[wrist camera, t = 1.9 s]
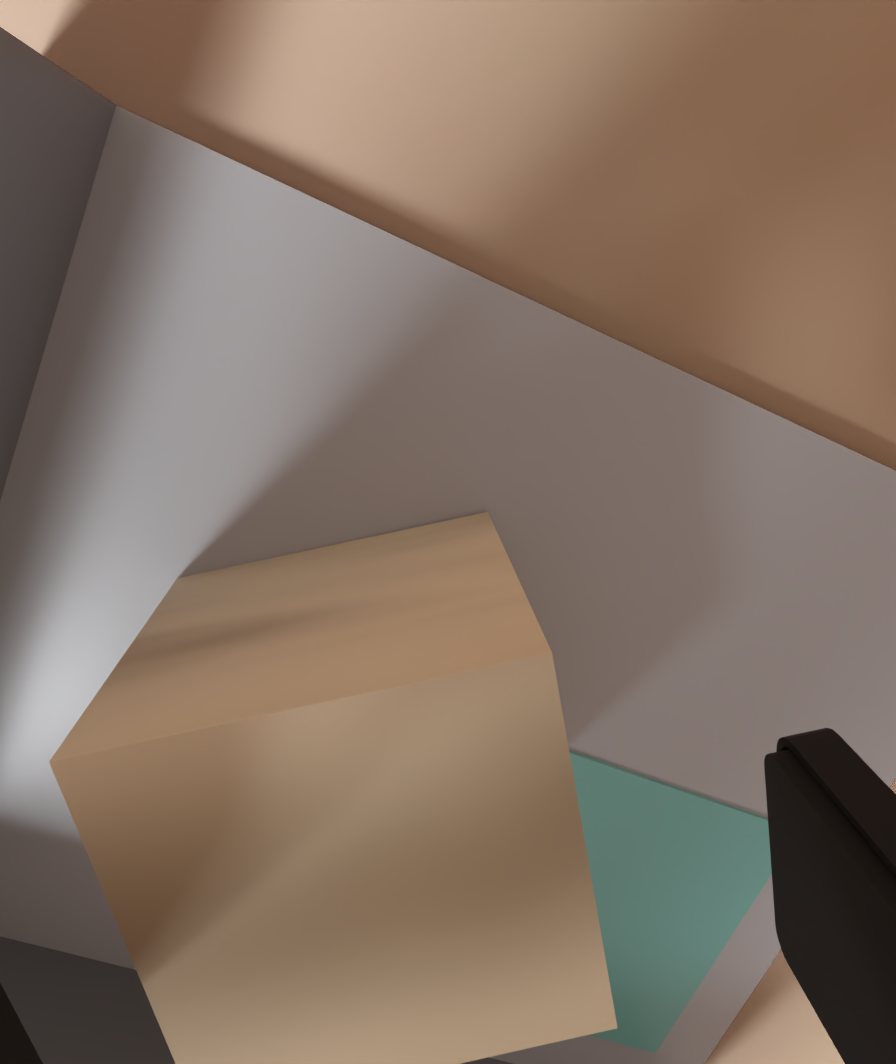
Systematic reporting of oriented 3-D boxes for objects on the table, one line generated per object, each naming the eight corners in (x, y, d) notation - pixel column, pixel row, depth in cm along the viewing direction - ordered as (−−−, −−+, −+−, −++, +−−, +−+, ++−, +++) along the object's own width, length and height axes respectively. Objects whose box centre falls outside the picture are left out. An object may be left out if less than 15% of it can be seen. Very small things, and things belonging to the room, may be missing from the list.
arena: (644, 1125, 21) (722, 1368, 17) (-195, 924, 17) (-413, 1173, 12) (1033, 536, 17) (1292, 638, 12) (32, 67, 13) (-174, -60, 8)
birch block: (538, 775, 17) (617, 1028, 11) (262, 836, 17) (200, 1121, 11) (487, 511, 15) (551, 652, 9) (177, 578, 15) (49, 761, 9)
